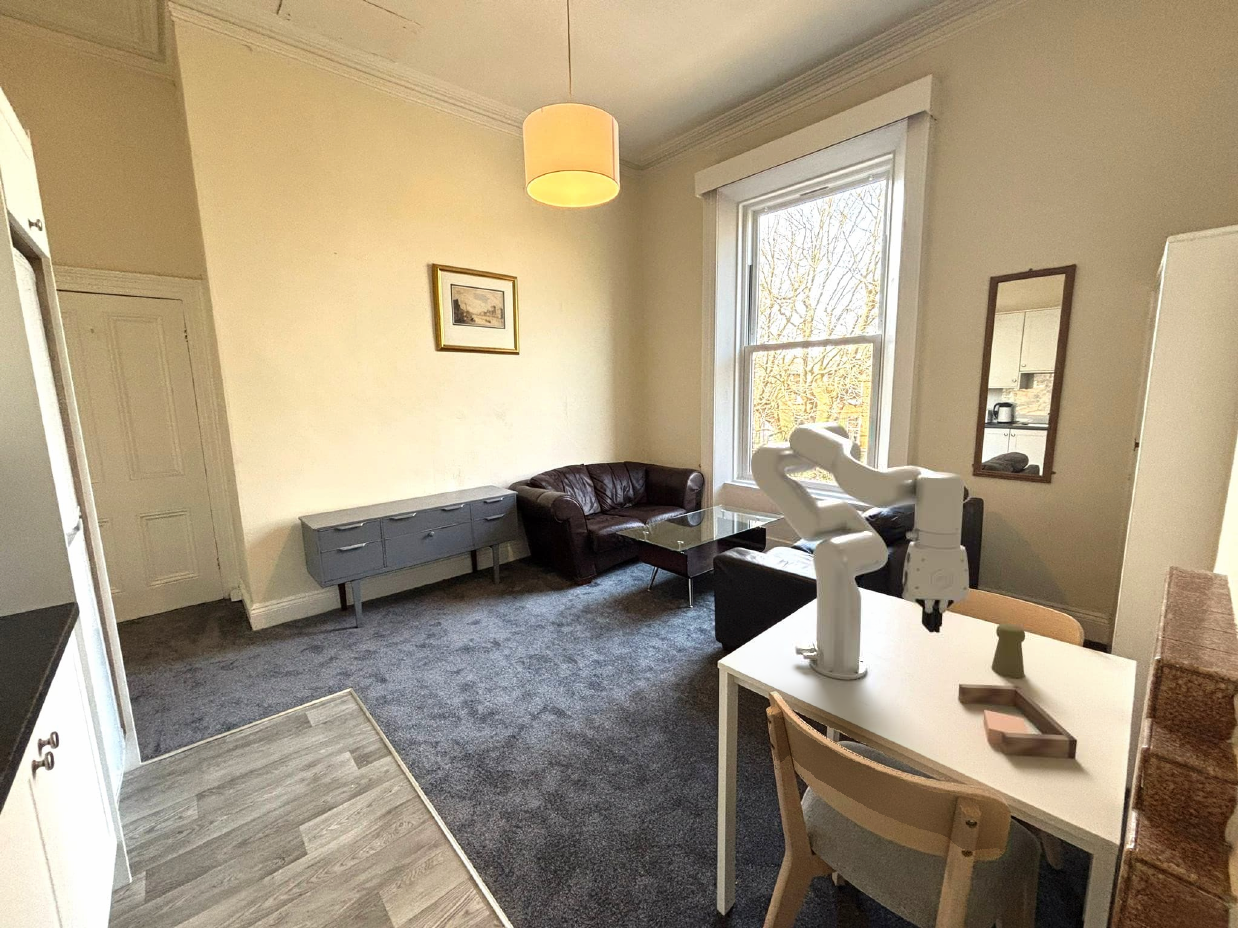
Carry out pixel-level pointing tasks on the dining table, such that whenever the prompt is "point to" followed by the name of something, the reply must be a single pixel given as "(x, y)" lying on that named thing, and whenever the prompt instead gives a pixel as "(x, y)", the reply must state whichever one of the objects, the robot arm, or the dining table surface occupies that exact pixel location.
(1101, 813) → the dining table surface
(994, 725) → the terracotta block
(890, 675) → the dining table surface
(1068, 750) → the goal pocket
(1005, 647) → the cork
